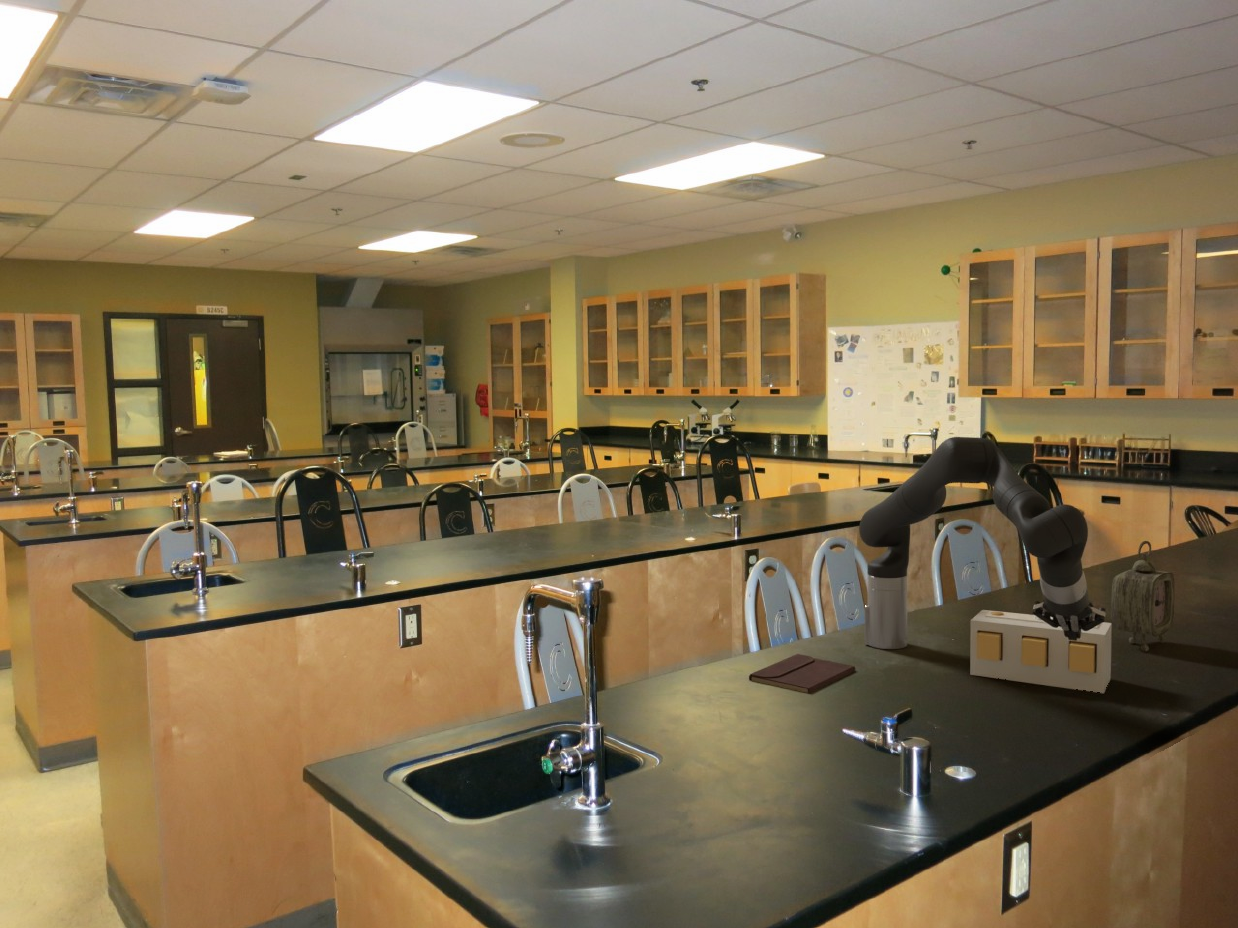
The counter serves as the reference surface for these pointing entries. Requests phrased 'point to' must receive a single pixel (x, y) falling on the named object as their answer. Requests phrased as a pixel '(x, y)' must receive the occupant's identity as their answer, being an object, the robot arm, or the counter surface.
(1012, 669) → the button console
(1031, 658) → the middle button
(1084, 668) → the button
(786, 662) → the notebook
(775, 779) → the counter surface
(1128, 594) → the tabletop clock
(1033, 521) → the robot arm
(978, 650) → the button
